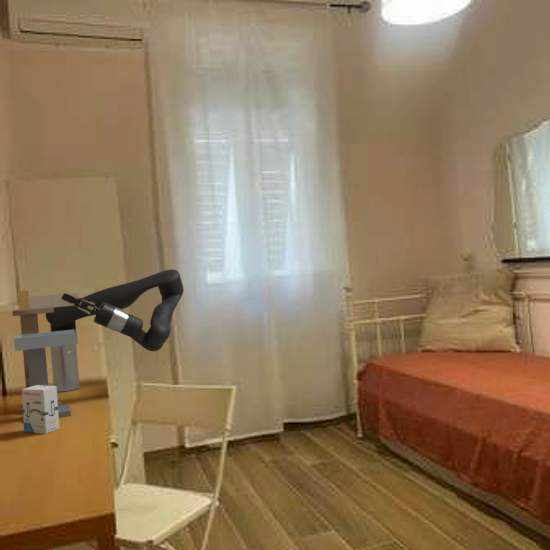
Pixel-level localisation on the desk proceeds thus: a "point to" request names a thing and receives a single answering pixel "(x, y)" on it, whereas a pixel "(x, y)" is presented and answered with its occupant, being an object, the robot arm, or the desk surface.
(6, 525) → the desk surface
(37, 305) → the pin
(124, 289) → the robot arm
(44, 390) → the ink box
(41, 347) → the frame
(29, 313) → the walnut stand
